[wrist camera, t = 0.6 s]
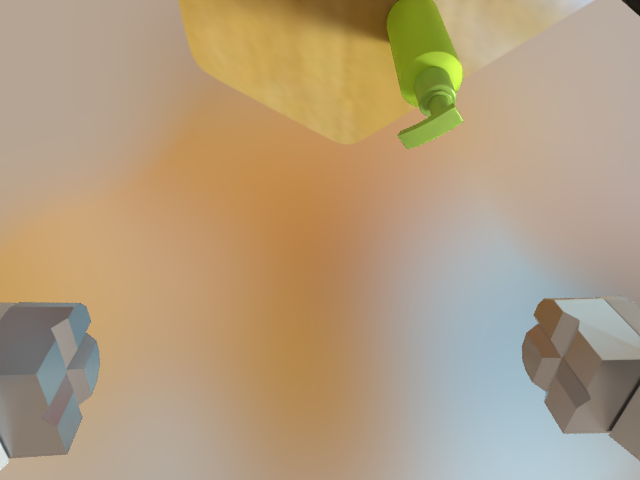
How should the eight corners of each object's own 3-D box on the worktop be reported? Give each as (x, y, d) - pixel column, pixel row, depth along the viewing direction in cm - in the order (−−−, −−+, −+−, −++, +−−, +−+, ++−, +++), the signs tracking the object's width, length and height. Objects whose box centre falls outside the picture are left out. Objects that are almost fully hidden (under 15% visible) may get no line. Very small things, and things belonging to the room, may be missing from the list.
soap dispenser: (368, 20, 52) (386, 123, 39) (424, -18, 49) (463, 79, 36) (394, 60, 56) (417, 167, 43) (447, 27, 53) (490, 130, 40)
